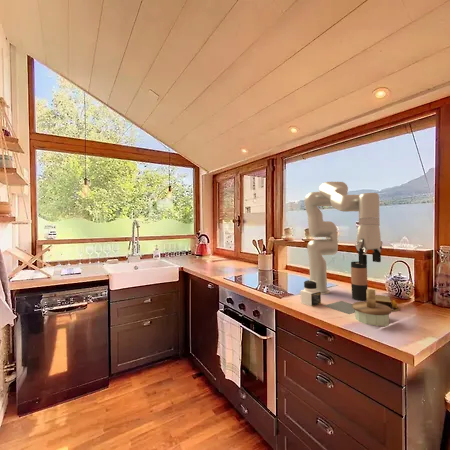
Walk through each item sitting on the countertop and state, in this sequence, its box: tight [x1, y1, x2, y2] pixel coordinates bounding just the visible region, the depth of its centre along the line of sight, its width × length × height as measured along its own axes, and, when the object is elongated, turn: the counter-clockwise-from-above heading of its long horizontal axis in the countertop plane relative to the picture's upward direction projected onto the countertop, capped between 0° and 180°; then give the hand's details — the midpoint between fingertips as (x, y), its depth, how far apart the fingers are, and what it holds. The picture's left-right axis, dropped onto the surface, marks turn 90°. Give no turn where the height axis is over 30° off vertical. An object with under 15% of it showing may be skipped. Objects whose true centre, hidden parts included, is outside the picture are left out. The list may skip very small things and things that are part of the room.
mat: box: [323, 300, 355, 315], centre depth 121 cm, size 14×14×1 cm
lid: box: [352, 288, 392, 315], centre depth 104 cm, size 14×14×8 cm
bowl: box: [354, 310, 390, 328], centre depth 104 cm, size 12×12×5 cm
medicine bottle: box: [300, 279, 322, 307], centre depth 128 cm, size 7×7×12 cm
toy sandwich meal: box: [375, 294, 401, 312], centre depth 120 cm, size 12×14×5 cm
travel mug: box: [350, 261, 368, 302], centre depth 133 cm, size 8×8×20 cm
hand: (369, 262), depth 105 cm, fingers open, 9 cm apart
